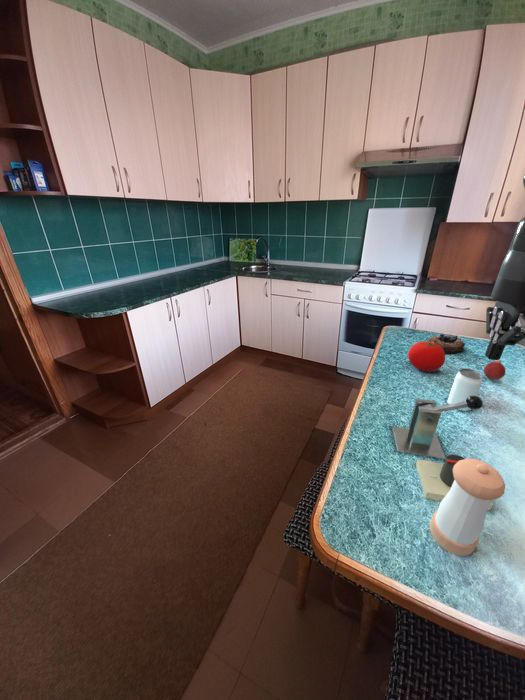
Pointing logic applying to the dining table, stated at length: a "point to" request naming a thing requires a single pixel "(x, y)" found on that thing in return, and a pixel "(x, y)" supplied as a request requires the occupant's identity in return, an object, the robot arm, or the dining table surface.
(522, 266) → the robot arm
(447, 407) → the tap lever
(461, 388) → the can
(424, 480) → the dial panel
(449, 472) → the dial knob
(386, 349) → the dining table surface
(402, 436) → the bracket
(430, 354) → the tomato
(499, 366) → the red rounded piece
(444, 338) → the pastry
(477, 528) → the pepper shaker
